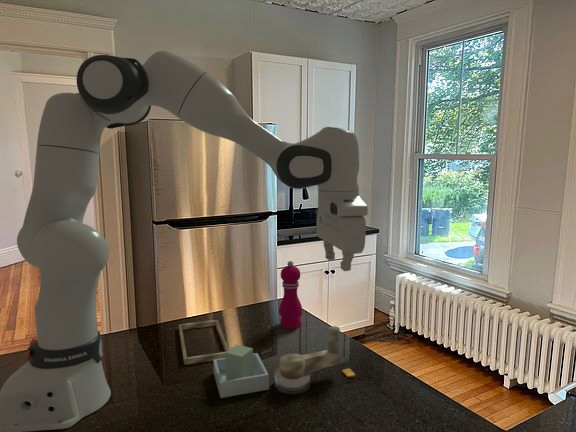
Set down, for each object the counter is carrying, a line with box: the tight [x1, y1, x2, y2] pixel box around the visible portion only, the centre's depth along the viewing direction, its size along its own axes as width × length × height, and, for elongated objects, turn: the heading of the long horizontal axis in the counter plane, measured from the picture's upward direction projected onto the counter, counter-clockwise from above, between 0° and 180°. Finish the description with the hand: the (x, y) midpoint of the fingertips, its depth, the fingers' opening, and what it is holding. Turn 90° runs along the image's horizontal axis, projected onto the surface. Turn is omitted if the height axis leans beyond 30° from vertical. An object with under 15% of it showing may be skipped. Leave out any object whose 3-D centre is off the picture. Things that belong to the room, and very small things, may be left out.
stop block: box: [224, 344, 254, 380], centre depth 95 cm, size 4×4×7 cm
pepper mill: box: [278, 260, 304, 330], centre depth 126 cm, size 7×7×20 cm
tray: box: [212, 352, 270, 399], centre depth 96 cm, size 11×11×4 cm
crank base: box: [274, 366, 356, 395], centre depth 96 cm, size 19×8×3 cm, turn 108°
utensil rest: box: [178, 319, 230, 366], centre depth 116 cm, size 12×23×2 cm, turn 18°
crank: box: [279, 325, 341, 378], centre depth 95 cm, size 15×6×8 cm, turn 112°
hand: (337, 264), depth 93 cm, fingers open, 8 cm apart
